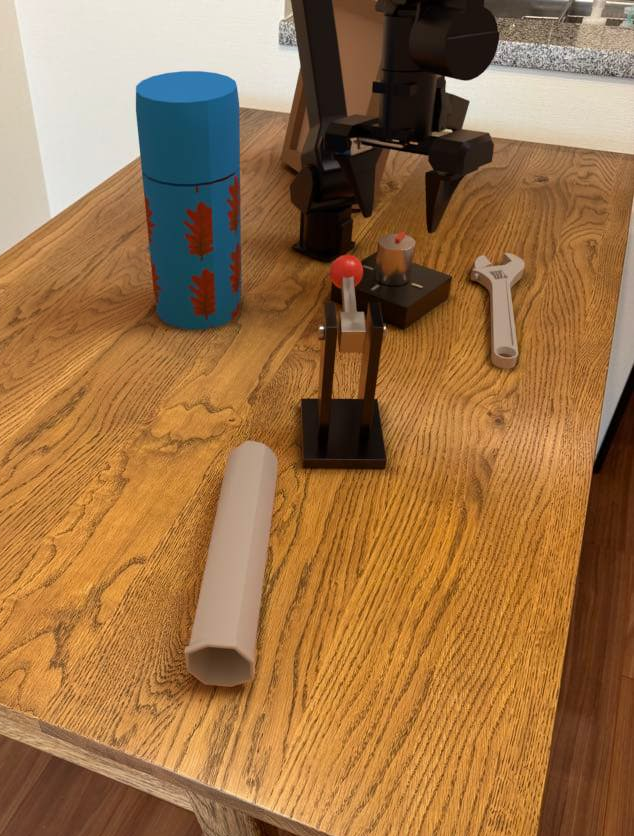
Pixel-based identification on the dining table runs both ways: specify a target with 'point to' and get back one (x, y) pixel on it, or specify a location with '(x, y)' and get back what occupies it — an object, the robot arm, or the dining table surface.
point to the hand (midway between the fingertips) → (398, 224)
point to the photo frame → (346, 77)
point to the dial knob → (394, 259)
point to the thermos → (192, 195)
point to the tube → (234, 570)
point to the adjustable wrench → (500, 305)
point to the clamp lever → (349, 304)
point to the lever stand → (345, 404)
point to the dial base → (399, 294)
